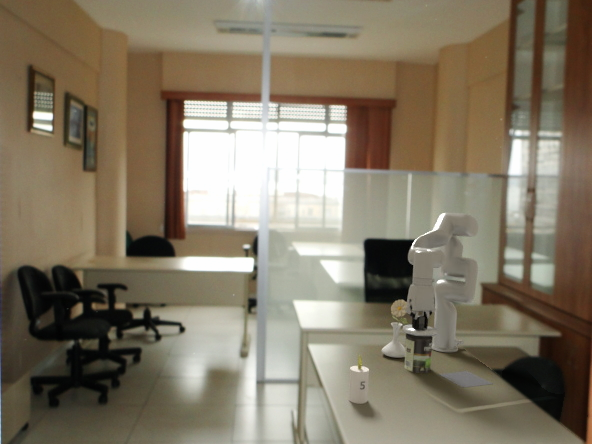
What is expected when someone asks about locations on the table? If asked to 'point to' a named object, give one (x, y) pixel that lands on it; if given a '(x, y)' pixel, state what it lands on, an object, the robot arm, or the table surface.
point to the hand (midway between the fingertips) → (419, 327)
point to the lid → (420, 328)
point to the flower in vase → (396, 331)
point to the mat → (465, 379)
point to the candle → (358, 383)
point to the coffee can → (418, 353)
